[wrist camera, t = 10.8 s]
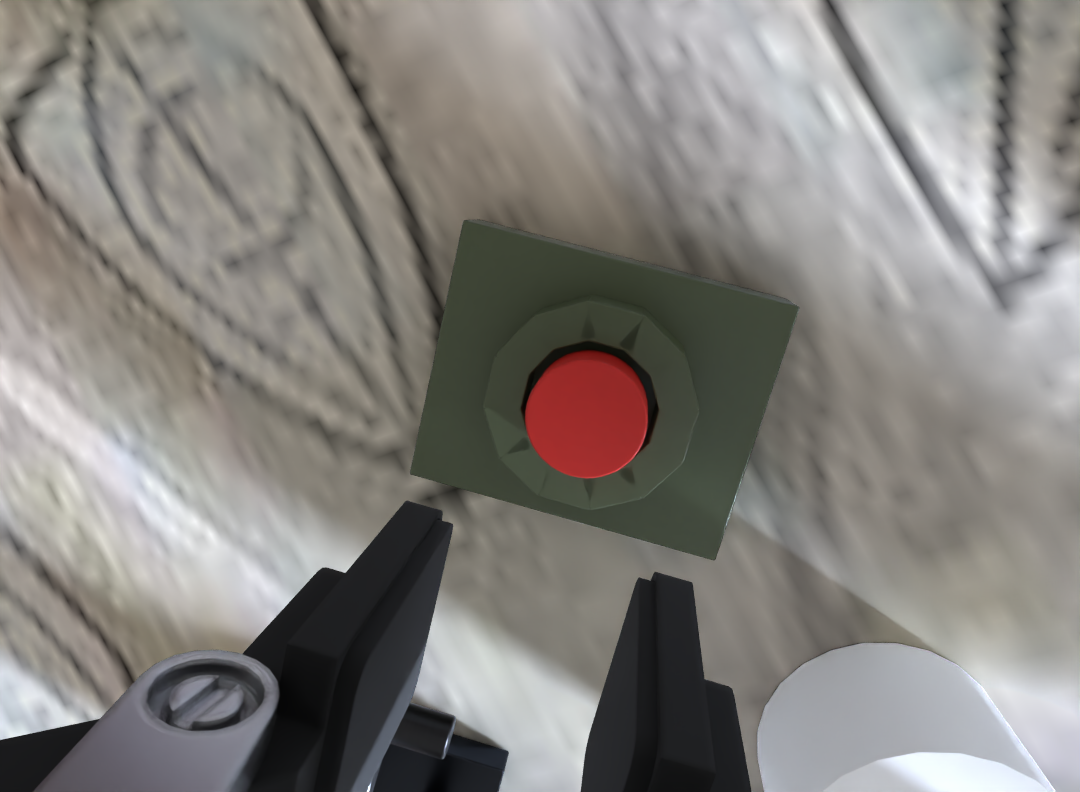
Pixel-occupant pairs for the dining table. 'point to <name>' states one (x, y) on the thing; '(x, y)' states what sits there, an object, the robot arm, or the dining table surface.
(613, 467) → the red button
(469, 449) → the button housing
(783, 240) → the dining table surface
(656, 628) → the robot arm
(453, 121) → the dining table surface
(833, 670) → the cylinder with rectangular tab
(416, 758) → the switch bracket
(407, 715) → the switch lever
